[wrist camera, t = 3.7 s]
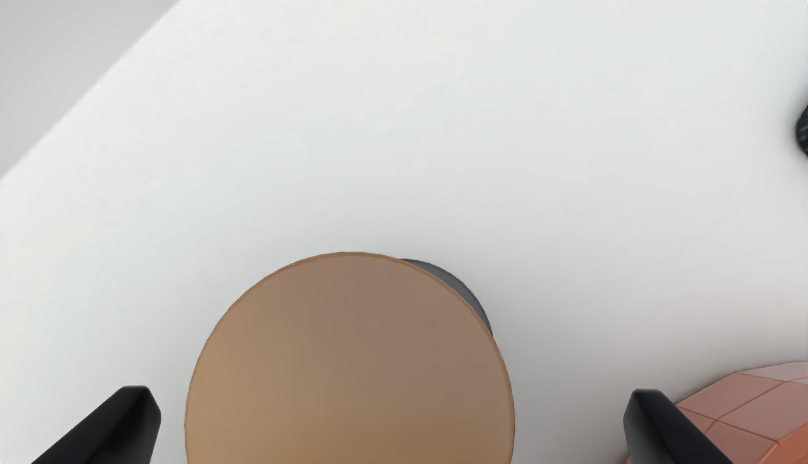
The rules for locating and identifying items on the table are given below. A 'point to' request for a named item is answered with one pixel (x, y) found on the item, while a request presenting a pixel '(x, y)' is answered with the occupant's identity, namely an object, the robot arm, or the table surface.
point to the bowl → (755, 414)
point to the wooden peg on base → (352, 370)
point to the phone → (803, 130)
